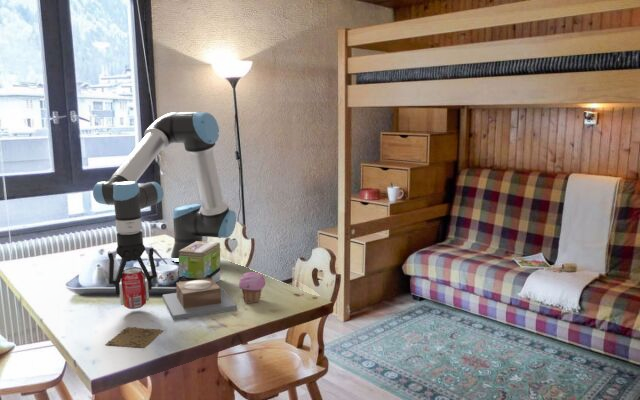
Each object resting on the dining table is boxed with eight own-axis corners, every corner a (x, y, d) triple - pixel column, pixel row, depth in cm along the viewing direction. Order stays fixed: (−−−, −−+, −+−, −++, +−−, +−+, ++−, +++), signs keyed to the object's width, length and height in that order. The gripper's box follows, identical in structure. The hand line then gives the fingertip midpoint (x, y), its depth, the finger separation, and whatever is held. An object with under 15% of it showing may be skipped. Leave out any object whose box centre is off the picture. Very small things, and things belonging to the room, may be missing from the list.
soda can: (136, 300, 175) (133, 265, 173) (151, 304, 172) (148, 268, 169) (118, 307, 169) (115, 271, 167) (133, 312, 166) (130, 275, 163)
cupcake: (242, 296, 184) (241, 268, 182) (267, 296, 184) (266, 268, 182) (237, 305, 175) (236, 276, 174) (263, 306, 175) (262, 277, 173)
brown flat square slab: (145, 350, 145) (144, 346, 145) (104, 346, 147) (103, 343, 147) (164, 331, 157) (164, 328, 156) (126, 328, 159) (126, 325, 158)
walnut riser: (176, 296, 179) (175, 281, 179) (212, 291, 184) (211, 276, 184) (183, 309, 169) (182, 293, 168) (221, 303, 174) (220, 287, 173)
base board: (162, 298, 182) (162, 294, 181) (220, 290, 190) (220, 286, 190) (173, 320, 164) (173, 315, 164) (236, 309, 172) (236, 305, 172)
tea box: (205, 292, 188) (203, 252, 185) (178, 290, 190) (176, 250, 187) (221, 279, 202) (220, 241, 200) (196, 277, 204) (195, 240, 202)
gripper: (95, 238, 158) (101, 311, 163) (164, 230, 166) (168, 300, 171) (94, 232, 165) (100, 302, 169) (160, 225, 173) (164, 292, 178)
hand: (134, 301), depth 170 cm, fingers closed on soda can, 7 cm apart
